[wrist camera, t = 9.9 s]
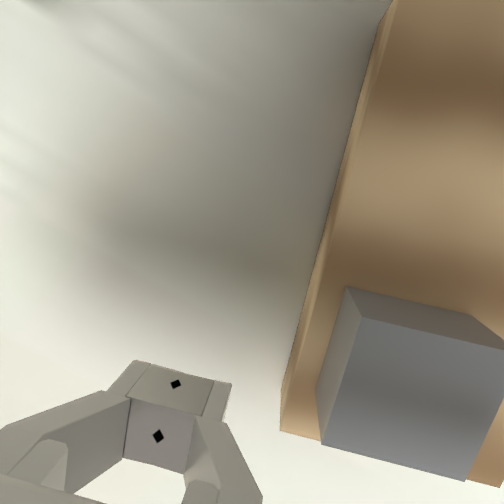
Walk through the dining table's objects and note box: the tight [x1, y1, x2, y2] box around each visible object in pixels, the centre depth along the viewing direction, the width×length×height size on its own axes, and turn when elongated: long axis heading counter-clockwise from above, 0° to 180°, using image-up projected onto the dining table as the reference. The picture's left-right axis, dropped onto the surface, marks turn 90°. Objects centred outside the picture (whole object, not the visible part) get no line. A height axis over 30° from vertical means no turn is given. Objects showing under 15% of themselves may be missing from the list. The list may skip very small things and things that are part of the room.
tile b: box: [315, 286, 504, 482], centre depth 12 cm, size 5×5×3 cm
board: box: [280, 0, 504, 488], centre depth 14 cm, size 18×10×3 cm, turn 168°
